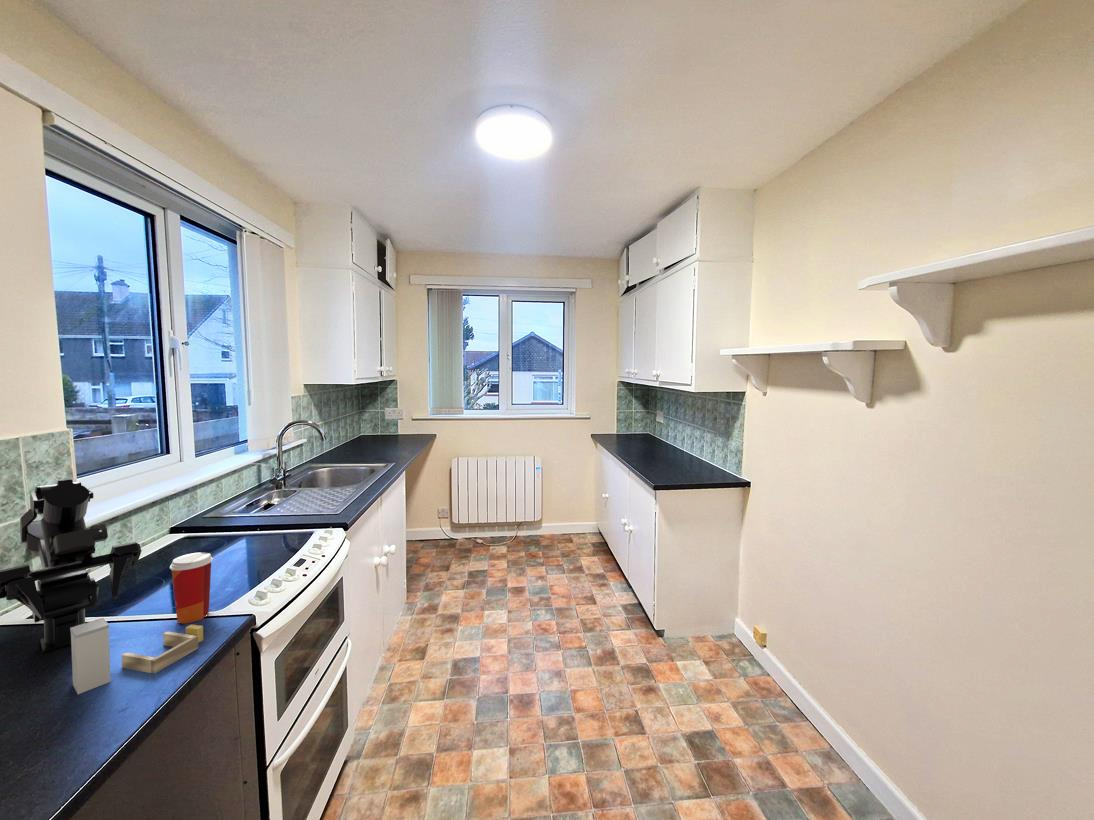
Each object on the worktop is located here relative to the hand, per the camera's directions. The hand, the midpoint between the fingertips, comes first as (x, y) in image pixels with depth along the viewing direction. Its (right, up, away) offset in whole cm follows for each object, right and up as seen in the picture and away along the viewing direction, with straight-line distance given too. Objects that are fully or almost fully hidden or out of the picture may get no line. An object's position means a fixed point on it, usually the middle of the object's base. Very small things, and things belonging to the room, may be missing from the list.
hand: (80, 607), depth 80 cm
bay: (+11, -12, +5) cm, 17 cm away
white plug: (+5, -12, -3) cm, 14 cm away
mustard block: (+12, -12, +11) cm, 20 cm away
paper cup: (+5, -12, +20) cm, 23 cm away
